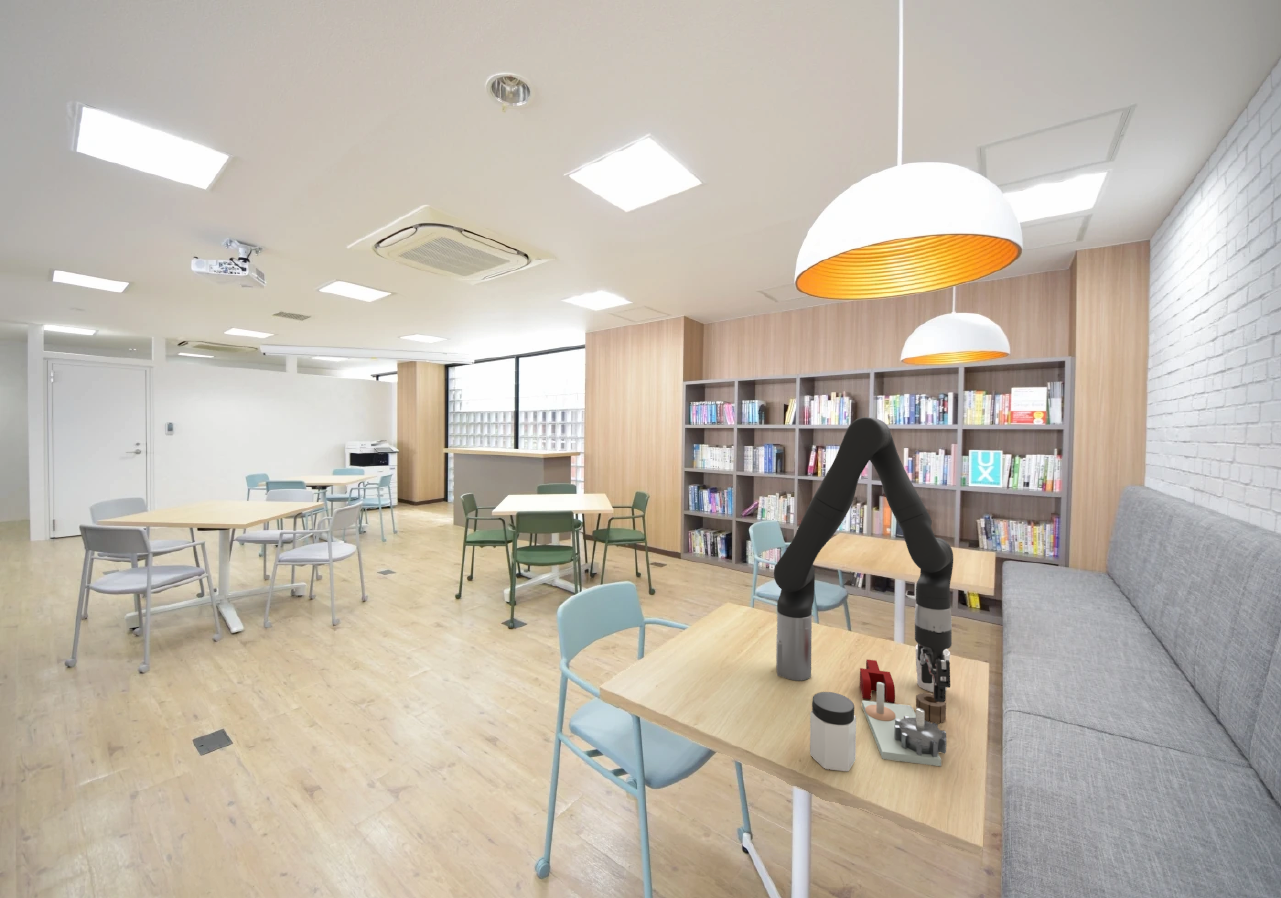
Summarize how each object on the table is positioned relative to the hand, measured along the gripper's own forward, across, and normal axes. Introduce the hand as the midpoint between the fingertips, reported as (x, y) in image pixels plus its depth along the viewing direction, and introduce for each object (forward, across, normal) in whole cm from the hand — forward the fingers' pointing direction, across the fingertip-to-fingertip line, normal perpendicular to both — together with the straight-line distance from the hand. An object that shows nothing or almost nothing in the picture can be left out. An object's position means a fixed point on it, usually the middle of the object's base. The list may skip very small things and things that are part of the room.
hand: (933, 691), depth 118 cm
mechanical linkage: (+6, -11, -10) cm, 17 cm away
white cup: (+6, -15, +4) cm, 17 cm away
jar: (+6, +21, -26) cm, 34 cm away
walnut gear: (+6, 0, 0) cm, 6 cm away
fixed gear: (+5, +14, -7) cm, 16 cm away
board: (+6, +9, -10) cm, 15 cm away
